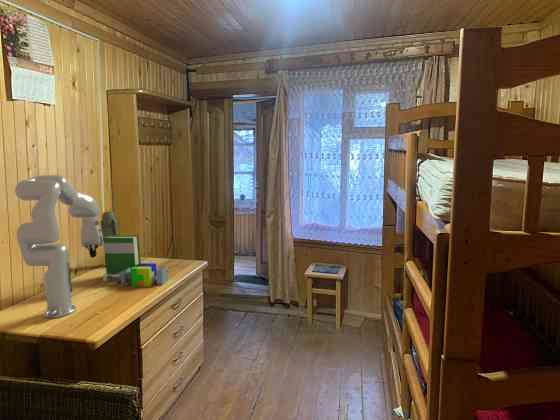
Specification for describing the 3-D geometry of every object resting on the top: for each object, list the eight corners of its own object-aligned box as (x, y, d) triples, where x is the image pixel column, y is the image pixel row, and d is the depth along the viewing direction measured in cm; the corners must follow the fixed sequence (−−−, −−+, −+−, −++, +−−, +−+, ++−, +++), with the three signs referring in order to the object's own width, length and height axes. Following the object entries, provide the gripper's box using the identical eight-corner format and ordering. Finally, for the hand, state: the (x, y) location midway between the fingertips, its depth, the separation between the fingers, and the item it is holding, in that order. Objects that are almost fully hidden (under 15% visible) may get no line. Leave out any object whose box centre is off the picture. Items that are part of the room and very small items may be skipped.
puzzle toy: (157, 280, 216) (155, 263, 214) (150, 286, 206) (148, 268, 204) (139, 280, 216) (138, 263, 215) (132, 286, 206) (130, 268, 205)
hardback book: (141, 274, 227) (138, 235, 223) (136, 278, 219) (132, 237, 216) (113, 274, 228) (110, 235, 225) (106, 278, 221) (103, 237, 218)
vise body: (162, 284, 207) (161, 270, 206) (106, 286, 207) (105, 272, 205) (168, 278, 219) (167, 264, 218) (115, 280, 218) (114, 266, 217)
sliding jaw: (125, 285, 207) (124, 271, 206) (102, 286, 206) (101, 272, 205) (131, 280, 216) (130, 266, 215) (109, 281, 215) (108, 267, 214)
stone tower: (116, 267, 244) (111, 213, 239) (100, 266, 246) (95, 212, 242) (125, 263, 252) (120, 211, 247) (109, 262, 255) (105, 210, 250)
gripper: (106, 222, 210) (110, 254, 213) (79, 223, 210) (82, 255, 213) (100, 224, 203) (104, 258, 206) (72, 225, 202) (76, 259, 205)
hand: (93, 256), depth 209 cm, fingers closed
